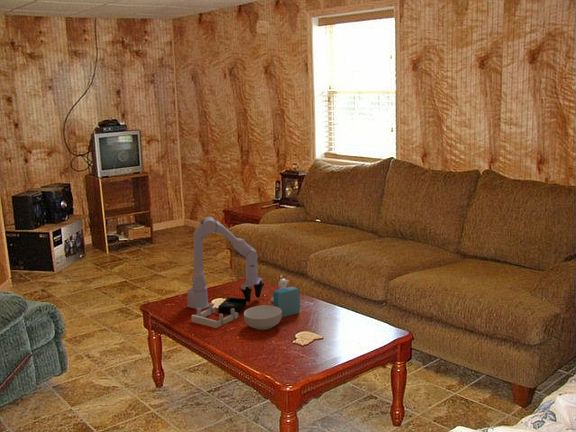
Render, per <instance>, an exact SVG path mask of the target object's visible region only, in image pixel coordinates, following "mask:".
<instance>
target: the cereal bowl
mask: <svg viewBox="0 0 576 432" xmlns="http://www.w3.org/2000/svg"><path fill="white" fill-rule="evenodd" d="M281 317H282V311H281V309H280V308H278V307H275V306H274V305H257V306H252V307H249V308H247V309H245V310H244V312H243V319H244V322H245V323H246V325H247V326H249V327H250V328H253V329H256V330H260V331H264V330H265V331H266V330H270V329H272V328H273V327H276V325H278V324H279V323H280V322H281V320H282V318H283V317H282V318H281Z"/></svg>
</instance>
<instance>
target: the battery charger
mask: <svg viewBox="0 0 576 432" xmlns="http://www.w3.org/2000/svg"><path fill="white" fill-rule="evenodd" d="M217 307H218V308H217V312H218V315H219V314H223V315H229V314H230V315H231V308H234V309H235V312H238V315H240V313H241V312H242V311H243V310H244V309H245V307H247V302H246V299H245V298H239V297H227V298H226V299H225V300H224V301H222V302H221V303H220V304H219V305H218V306H217Z"/></svg>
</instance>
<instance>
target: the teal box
mask: <svg viewBox="0 0 576 432" xmlns="http://www.w3.org/2000/svg"><path fill="white" fill-rule="evenodd" d="M272 298H273V301H274V303H273V306H275V307H278V308H280V309H281V311H282V317H281V319H282V318H285V317H290V316H292V315H293V316H294V315H296V314H299V313H300V311H301V290H300V289H299V288H297V287H295V286H288V287H286V288H284V289H280V290H279V289H277V290H274V292H273V295H272Z"/></svg>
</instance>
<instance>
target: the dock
mask: <svg viewBox="0 0 576 432" xmlns="http://www.w3.org/2000/svg"><path fill="white" fill-rule="evenodd" d="M208 304H209V307H208V309H206V310H203V311H202V310H201V308H197V309H196V314H192V315H191V322H192V323H195V324H200V325H203V326H206V327H211V328H214V329H218V328H219V327H222V326H224V325H226V324H227V323H230V322H232V321H235V320H236V319H238V318H239V314H238V312H235V309H234V308H231V315H229V314H228V315H226V316H225V317H224V314H219V313H218V320H215V319H211V318H208V316H211V315H213V314H215V313H217V307H216V306H213V302H208Z"/></svg>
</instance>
